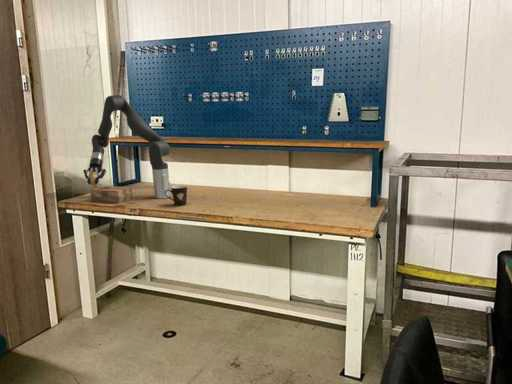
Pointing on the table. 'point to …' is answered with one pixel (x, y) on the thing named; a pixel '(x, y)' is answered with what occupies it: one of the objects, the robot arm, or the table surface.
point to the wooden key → (93, 180)
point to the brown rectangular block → (111, 194)
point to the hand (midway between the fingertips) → (92, 183)
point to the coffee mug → (178, 195)
